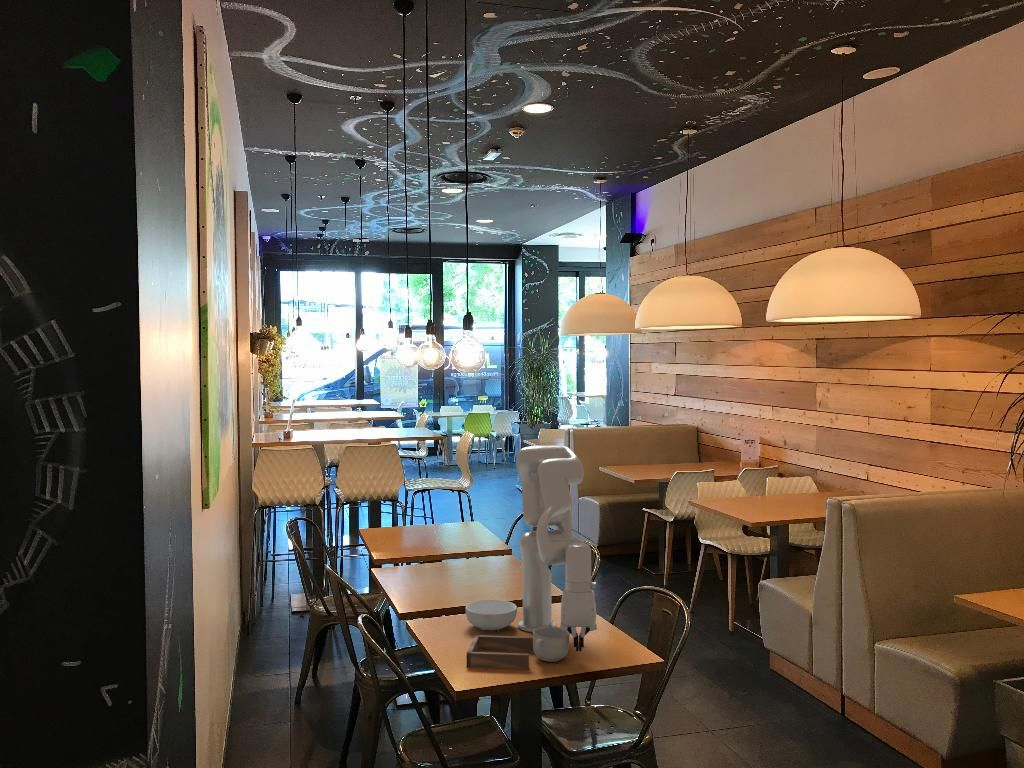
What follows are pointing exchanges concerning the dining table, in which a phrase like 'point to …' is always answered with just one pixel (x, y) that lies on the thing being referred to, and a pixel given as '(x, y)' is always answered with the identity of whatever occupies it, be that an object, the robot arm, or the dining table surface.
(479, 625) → the cereal bowl
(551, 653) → the teacup
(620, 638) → the dining table surface
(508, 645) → the walnut bay
